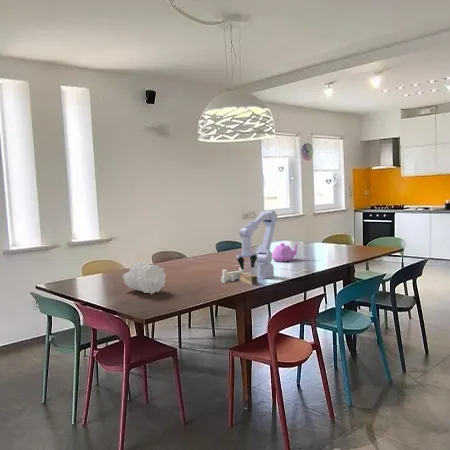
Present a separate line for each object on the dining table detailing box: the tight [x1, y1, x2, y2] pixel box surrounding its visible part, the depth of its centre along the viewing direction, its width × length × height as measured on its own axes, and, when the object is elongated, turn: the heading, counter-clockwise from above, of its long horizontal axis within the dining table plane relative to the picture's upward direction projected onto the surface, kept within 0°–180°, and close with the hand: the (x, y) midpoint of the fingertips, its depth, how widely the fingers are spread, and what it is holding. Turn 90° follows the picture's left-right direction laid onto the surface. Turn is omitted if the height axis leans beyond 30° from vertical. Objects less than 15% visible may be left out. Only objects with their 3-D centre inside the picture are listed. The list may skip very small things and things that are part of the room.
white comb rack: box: [220, 266, 252, 284], centre depth 303 cm, size 21×6×7 cm, turn 120°
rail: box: [238, 272, 258, 285], centre depth 294 cm, size 4×15×5 cm, turn 30°
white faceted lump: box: [122, 261, 167, 295], centre depth 281 cm, size 18×18×25 cm
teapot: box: [271, 242, 299, 263], centre depth 367 cm, size 22×22×14 cm
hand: (247, 268), depth 293 cm, fingers open, 7 cm apart
